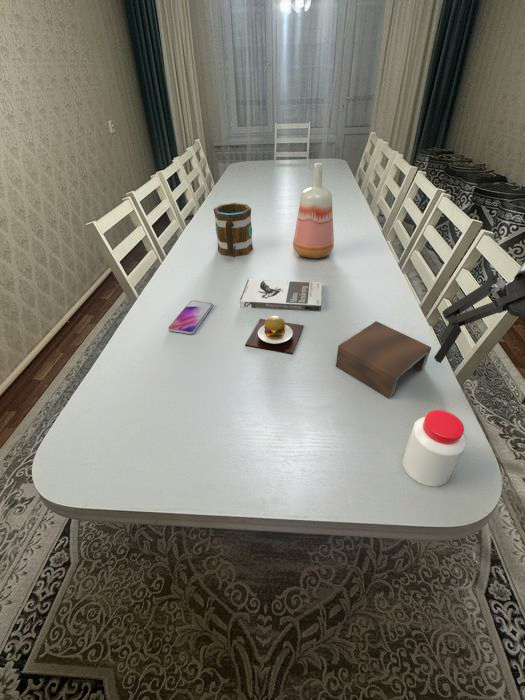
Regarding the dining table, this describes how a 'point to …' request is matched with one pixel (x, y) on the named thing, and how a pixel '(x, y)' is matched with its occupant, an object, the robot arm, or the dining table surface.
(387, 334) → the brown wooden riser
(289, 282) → the book
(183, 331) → the smartphone
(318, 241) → the vase
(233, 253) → the mug
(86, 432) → the dining table surface
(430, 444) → the pill bottle
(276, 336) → the hamburger
